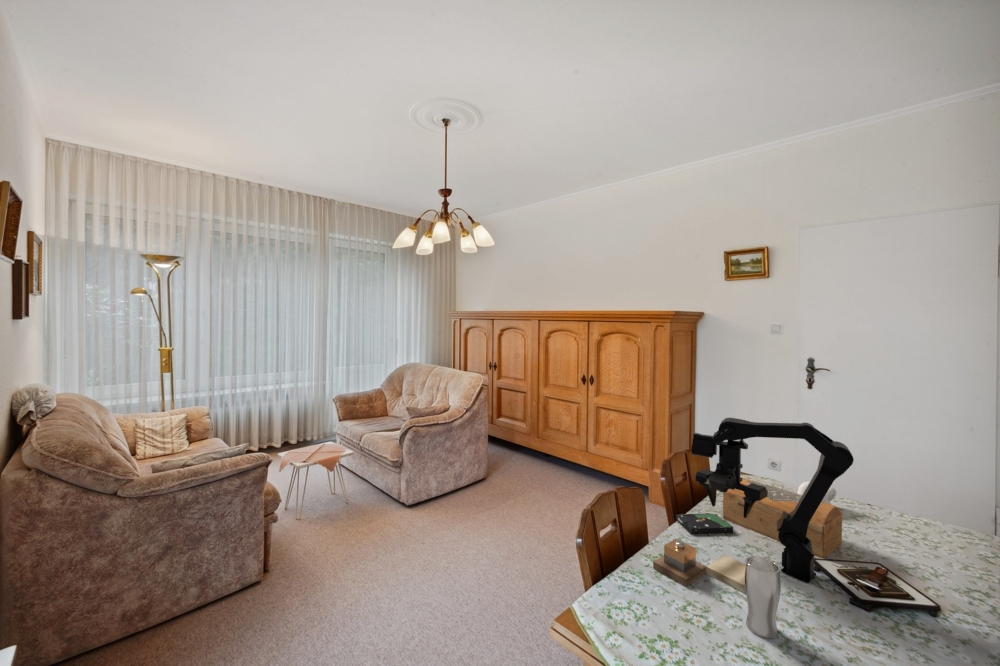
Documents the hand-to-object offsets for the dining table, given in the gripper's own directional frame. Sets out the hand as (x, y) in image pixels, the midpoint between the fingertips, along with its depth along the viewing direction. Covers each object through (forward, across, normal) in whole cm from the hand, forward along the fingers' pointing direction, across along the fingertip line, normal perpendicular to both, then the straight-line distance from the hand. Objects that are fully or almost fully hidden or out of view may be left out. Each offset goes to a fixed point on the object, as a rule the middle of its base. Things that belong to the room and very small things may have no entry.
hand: (729, 511), depth 122 cm
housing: (+11, -4, -20) cm, 23 cm away
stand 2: (+13, +6, -10) cm, 17 cm away
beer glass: (+13, +19, -25) cm, 34 cm away
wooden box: (+13, +3, +29) cm, 32 cm away
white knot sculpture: (+13, +4, +59) cm, 61 cm away
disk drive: (+14, -13, +10) cm, 22 cm away
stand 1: (+13, -4, -20) cm, 24 cm away
